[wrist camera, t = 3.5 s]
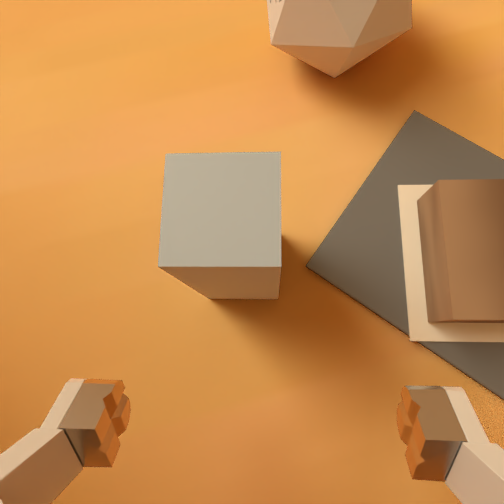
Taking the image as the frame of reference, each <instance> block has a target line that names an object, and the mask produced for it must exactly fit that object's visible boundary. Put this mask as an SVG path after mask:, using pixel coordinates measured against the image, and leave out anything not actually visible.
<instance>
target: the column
mask: <svg viewBox="0 0 504 504" xmlns="http://www.w3.org/2000/svg"><path fill="white" fill-rule="evenodd" d="M158 267H159V268H161V269H163V270H164V271H166V272H167V273H169V274H171V275H172V276H174V277H175V278H177V279H178V280H180V281H182V282H183V283H185V284H186V285H188V286H190V287H191V288H193V289H194V290H196V291H198V292H199V293H201V294H202V295H204V296H206V297H207V298H209V299H278V297H279V287H280V276H281V152H235V153H175V154H166V156H165V170H164V185H163V200H162V214H161V229H160V244H159V258H158Z"/></svg>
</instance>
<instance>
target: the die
mask: <svg viewBox="0 0 504 504" xmlns="http://www.w3.org/2000/svg"><path fill="white" fill-rule="evenodd" d="M267 6H268V17H269V28H270V39H271V45H273V46H275V47H277V48H279V49H280V50H282V51H284V52H286V53H288V54H290V55H292V56H294V57H296V58H297V59H299V60H301V61H303V62H305V63H307V64H309V65H311V66H313V67H314V68H316V69H318V70H320V71H322V72H324V73H326V74H328V75H330V76H331V77H333V78H336V77H337V76H339V75H340V74H342V73H343V72H345V71H346V70H348V69H349V68H351V67H353V66H354V65H356V64H357V63H359V62H360V61H362V60H363V59H365V58H366V57H368V56H370V55H371V54H373V53H374V52H376V51H377V50H379V49H380V48H382V47H383V46H385V45H386V44H388V43H390V42H391V41H393V40H394V39H396V38H397V37H399V36H400V35H402V34H403V33H405V32H407V31H408V30H410V29H411V28H412V0H267Z"/></svg>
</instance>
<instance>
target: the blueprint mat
mask: <svg viewBox="0 0 504 504" xmlns="http://www.w3.org/2000/svg"><path fill="white" fill-rule="evenodd" d="M467 179H504V160H503V159H501V158H500V157H498V156H496V155H494V154H492V153H491V152H489V151H487V150H485V149H483V148H482V147H480V146H478V145H476V144H474V143H473V142H471V141H469V140H467V139H465V138H464V137H462V136H460V135H458V134H456V133H455V132H453V131H451V130H449V129H447V128H446V127H444V126H442V125H440V124H438V123H437V122H435V121H433V120H431V119H429V118H428V117H426V116H424V115H422V114H420V113H419V112H417V111H415V110H414V111H413V113H412V114H411V116H410V117H409V119H408V120H407V122H406V123H405V124H404V126H403V127H402V129H401V130H400V132H399V133H398V134H397V136H396V137H395V139H394V140H393V142H392V143H391V144H390V146H389V147H388V149H387V150H386V152H385V153H384V154H383V156H382V157H381V159H380V160H379V162H378V163H377V165H376V166H375V167H374V169H373V170H372V172H371V173H370V175H369V176H368V177H367V179H366V180H365V182H364V183H363V185H362V186H361V187H360V189H359V190H358V192H357V193H356V195H355V196H354V198H353V199H352V200H351V202H350V203H349V205H348V206H347V208H346V209H345V210H344V212H343V213H342V215H341V216H340V218H339V219H338V220H337V222H336V223H335V225H334V226H333V228H332V229H331V230H330V232H329V233H328V235H327V236H326V238H325V239H324V241H323V242H322V243H321V245H320V246H319V248H318V249H317V251H316V252H315V253H314V255H313V256H312V258H311V259H310V261H309V262H308V263H307V265H306V267H308V268H309V269H310V270H312V271H313V272H315V273H316V274H318V275H319V276H321V277H322V278H324V279H325V280H327V281H328V282H330V283H331V284H333V285H334V286H336V287H337V288H339V289H340V290H342V291H343V292H345V293H346V294H347V295H349V296H350V297H352V298H353V299H355V300H356V301H358V302H359V303H361V304H362V305H364V306H365V307H367V308H368V309H370V310H371V311H373V312H374V313H376V314H377V315H379V316H380V317H382V318H383V319H384V320H386V321H387V322H389V323H390V324H392V325H393V326H395V327H396V328H398V329H399V330H401V331H402V332H404V333H405V334H407V335H408V336H409V337H410V341H417V342H419V343H420V344H422V345H423V346H424V347H426V348H427V349H429V350H430V351H432V352H433V353H435V354H436V355H438V356H439V357H441V358H442V359H444V360H445V361H447V362H448V363H450V364H451V365H453V366H454V367H456V368H457V369H459V370H460V371H461V372H463V373H464V374H466V375H467V376H469V377H470V378H472V379H473V380H475V381H476V382H478V383H479V384H481V385H482V386H484V387H485V388H487V389H488V390H490V391H491V392H493V393H494V394H496V395H497V396H499V397H500V398H501V399H503V400H504V323H432V322H428V319H427V308H426V297H425V286H424V275H423V264H422V253H421V241H420V230H419V219H418V208H417V200H418V199H419V198H420V197H421V196H422V195H423V194H424V193H425V192H426V191H427V190H428V189H429V188H430V187H432V186H433V185H434V184H435V183H436V182H437V181H438V180H467Z"/></svg>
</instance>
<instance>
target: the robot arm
mask: <svg viewBox="0 0 504 504" xmlns="http://www.w3.org/2000/svg"><path fill="white" fill-rule="evenodd" d="M124 389H125V386H124V384H123V381H122V380H102V379H78V378H71V379H70V380H69V381H68V382H66V384H65V385H64V387H63V389H62V390H61V392H60V394H59V396H58V397H57V399H56V401H55V403H54V404H53V406H52V408H51V409H50V411H49V413H48V415H47V416H46V418H45V420H44V422H43V423H42V425H41V427H40V428H34V429H33V430H32V431H31V432H29V433H28V434H27V435H25V436H24V437H23V438H21V439H20V440H19V441H17V442H16V443H15V444H13V445H12V446H11V447H9V448H8V449H7V450H6V451H4V452H3V453H2V454H0V504H51V503H52V502H53V501H54V499H55V498H56V497H57V496H58V495H59V494H60V493H61V492H62V491H63V490H64V489H65V488H66V487H67V486H68V485H69V483H70V482H71V481H72V480H73V479H74V478H75V477H76V476H77V475H78V474H79V473H80V472H81V471H82V470H83V467H112V466H113V463H114V461H115V458H116V455H117V452H118V450H119V447H120V442H119V439H118V437H119V436H120V435H121V434H122V433H123V432H124V431H125V430H126V428H127V425H128V422H129V418H130V411H131V408H130V401H129V398H128V397H127V396H126V395H124V394H123V392H124ZM401 396H402V399H403V401H402V402H401V403H399V404H398V408H397V425H398V431H399V434H400V438H401V440H402V441H403V442H404V443H405V444H406V445H407V450H406V453H405V456H406V459H407V463H408V466H409V470H410V473H411V477H412V479H416V480H431V481H446V482H445V484H446V485H447V486H448V487H449V489H450V490H451V491H452V492H453V493H454V494H455V496H456V497H457V498H458V499H459V500H460V502H461V503H462V504H504V449H503V448H501V447H500V446H499V445H498V444H497V443H490V441H489V439H488V437H487V435H486V433H485V431H484V429H483V427H482V425H481V423H480V421H479V419H478V417H477V415H476V413H475V411H474V408H473V406H472V404H471V402H470V400H469V398H468V396H467V394H466V392H465V390H464V389H463V388H462V387H441V386H404V387H403V388H402V392H401Z"/></svg>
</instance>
